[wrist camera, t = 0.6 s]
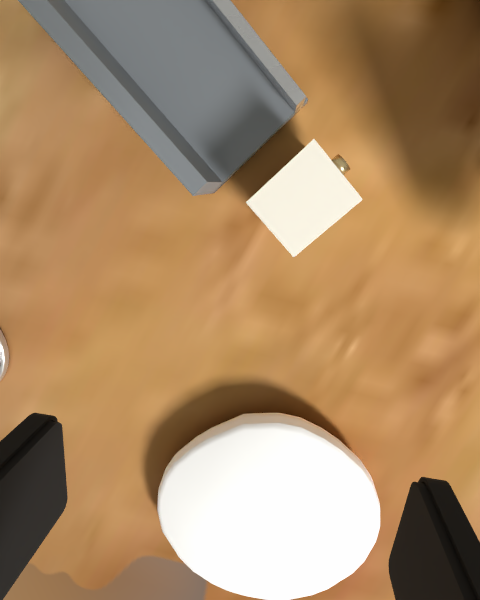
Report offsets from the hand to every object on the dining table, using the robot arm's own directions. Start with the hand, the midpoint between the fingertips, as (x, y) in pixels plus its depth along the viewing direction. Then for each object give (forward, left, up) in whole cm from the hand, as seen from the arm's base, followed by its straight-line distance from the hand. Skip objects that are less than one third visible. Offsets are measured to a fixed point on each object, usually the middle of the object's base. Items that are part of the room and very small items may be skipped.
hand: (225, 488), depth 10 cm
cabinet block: (+7, +3, -31) cm, 32 cm away
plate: (-20, -23, -32) cm, 44 cm away
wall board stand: (+7, +20, -31) cm, 37 cm away
